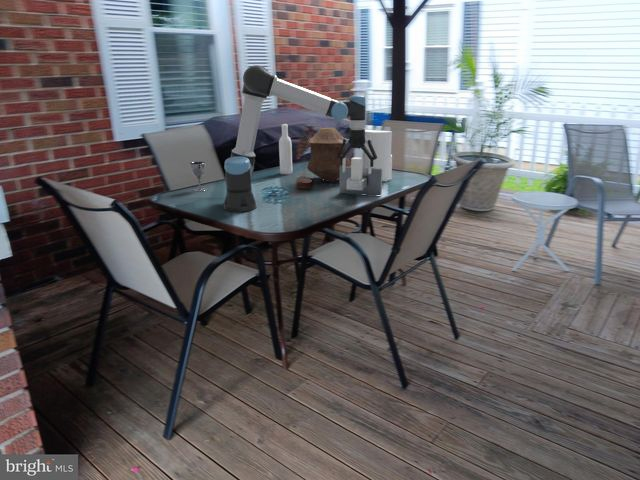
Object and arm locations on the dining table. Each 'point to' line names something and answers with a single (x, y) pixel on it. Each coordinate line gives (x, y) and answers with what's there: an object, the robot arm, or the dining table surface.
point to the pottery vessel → (326, 154)
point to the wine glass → (198, 172)
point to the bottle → (285, 151)
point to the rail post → (356, 168)
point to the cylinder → (380, 151)
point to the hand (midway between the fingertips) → (356, 172)
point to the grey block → (361, 182)
